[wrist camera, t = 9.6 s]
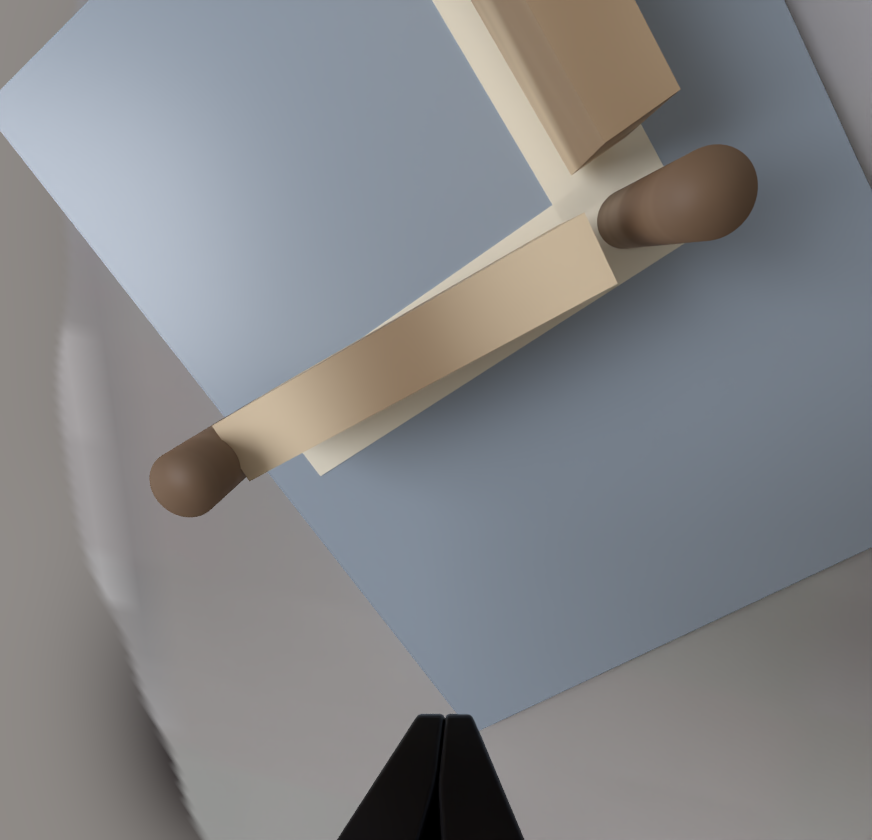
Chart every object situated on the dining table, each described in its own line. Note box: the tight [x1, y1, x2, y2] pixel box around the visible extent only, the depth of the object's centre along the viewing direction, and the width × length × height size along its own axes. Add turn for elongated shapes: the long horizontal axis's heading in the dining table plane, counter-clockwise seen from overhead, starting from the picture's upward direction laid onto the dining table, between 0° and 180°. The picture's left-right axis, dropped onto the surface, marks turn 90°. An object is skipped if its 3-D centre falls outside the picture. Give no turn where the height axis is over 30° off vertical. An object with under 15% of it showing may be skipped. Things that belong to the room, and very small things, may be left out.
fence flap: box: [150, 212, 618, 517], centre depth 12 cm, size 10×1×5 cm, turn 119°
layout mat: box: [0, 0, 872, 731], centre depth 14 cm, size 17×23×1 cm
